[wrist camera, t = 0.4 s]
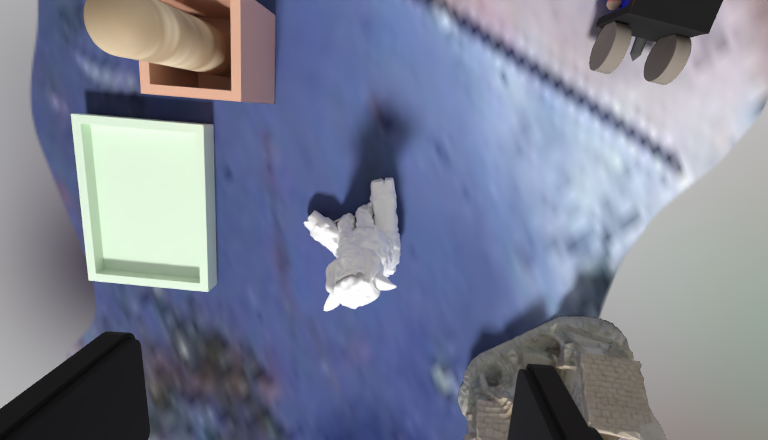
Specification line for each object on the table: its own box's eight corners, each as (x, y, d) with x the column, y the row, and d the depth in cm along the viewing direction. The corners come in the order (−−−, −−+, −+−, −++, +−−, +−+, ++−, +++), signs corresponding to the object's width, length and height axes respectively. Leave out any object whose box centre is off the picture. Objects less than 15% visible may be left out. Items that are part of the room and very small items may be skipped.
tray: (87, 113, 39) (70, 113, 37) (213, 124, 39) (203, 125, 37) (102, 272, 43) (88, 280, 41) (217, 283, 43) (208, 291, 41)
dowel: (210, 32, 36) (80, -20, 22) (251, 35, 36) (148, -15, 22) (211, 76, 37) (87, 53, 23) (251, 79, 37) (152, 59, 23)
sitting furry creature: (389, 169, 39) (383, 194, 28) (430, 248, 41) (441, 302, 29) (303, 214, 41) (263, 255, 29) (346, 288, 42) (324, 355, 31)
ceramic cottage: (651, 337, 42) (762, 458, 28) (573, 456, 47) (633, 613, 32) (505, 280, 42) (540, 370, 28) (443, 404, 47) (445, 536, 33)
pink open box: (191, 8, 36) (133, -19, 29) (275, 15, 36) (240, -11, 28) (194, 97, 38) (141, 93, 31) (274, 103, 38) (240, 101, 30)
